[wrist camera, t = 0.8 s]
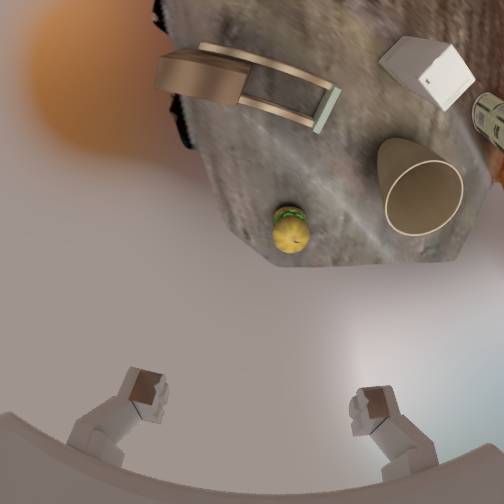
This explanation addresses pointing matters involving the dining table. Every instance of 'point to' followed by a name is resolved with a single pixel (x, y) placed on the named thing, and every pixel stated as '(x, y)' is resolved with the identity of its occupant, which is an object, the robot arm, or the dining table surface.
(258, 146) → the dining table surface
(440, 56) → the skincare box
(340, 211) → the dining table surface
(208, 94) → the block
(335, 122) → the dining table surface
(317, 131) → the end stop
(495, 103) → the coffee can
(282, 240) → the hamburger
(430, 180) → the plant pot
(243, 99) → the chute
